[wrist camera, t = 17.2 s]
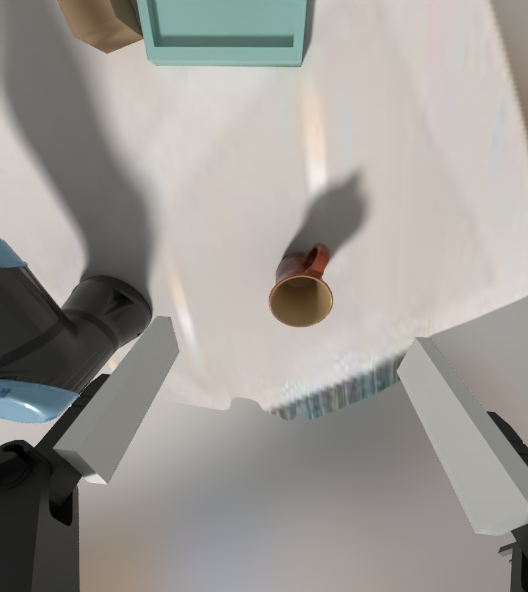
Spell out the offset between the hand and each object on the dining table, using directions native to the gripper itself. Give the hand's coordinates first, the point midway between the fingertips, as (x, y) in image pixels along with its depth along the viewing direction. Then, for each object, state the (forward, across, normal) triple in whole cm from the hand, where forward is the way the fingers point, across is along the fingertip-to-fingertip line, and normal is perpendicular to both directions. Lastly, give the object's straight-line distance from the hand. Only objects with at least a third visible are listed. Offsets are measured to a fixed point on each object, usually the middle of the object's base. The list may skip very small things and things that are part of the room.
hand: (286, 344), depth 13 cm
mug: (+27, +3, -7) cm, 28 cm away
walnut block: (+27, -21, +21) cm, 40 cm away
